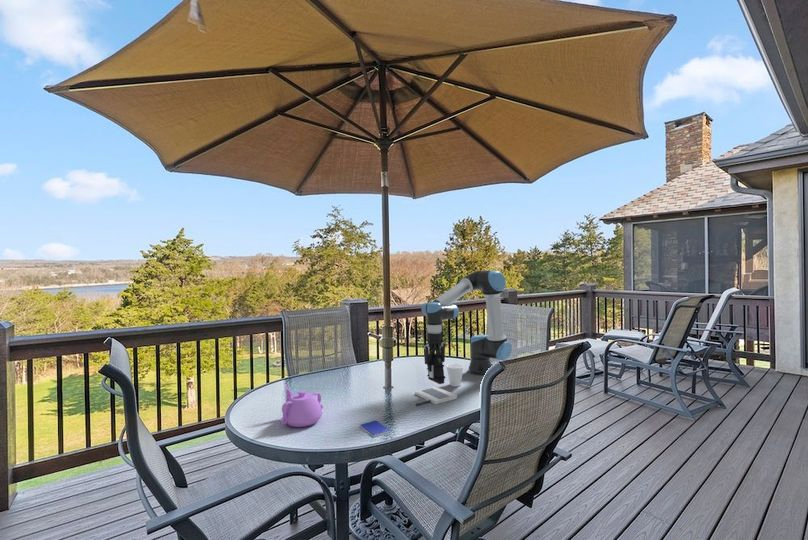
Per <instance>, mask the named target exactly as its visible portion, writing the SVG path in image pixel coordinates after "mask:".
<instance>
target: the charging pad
mask: <svg viewBox="0 0 808 540" xmlns="http://www.w3.org/2000/svg"><path fill="white" fill-rule="evenodd" d="M414 395H415V396H418V397H420V398H422V399H424V400H423V401H421V402H417V403H416V404H415V406H421V405H424V404H427V403H432V404H434V405H438V404H441V403H445V402H449V401H453V400H457V399H458V395H457V394H454V393H452V392H450V391H448V390H445V389H443V388H441V387H439V386H431V387H428V388H424V389H419V390H415V391H414Z"/></svg>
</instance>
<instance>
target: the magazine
mask: <svg viewBox="0 0 808 540" xmlns="http://www.w3.org/2000/svg"><path fill="white" fill-rule="evenodd" d="M441 357H442V355H440V353H436V352H435V353H434V355H433V362H432V365H433V373H434V378H431V377H429V371H428V365H427V364H426V366H427V367H426V370H427V373H428V374H427V377H428V380H430V381H431V382H434V383H437V384H439V385H443V384H445V380H446V376H445V371H444V367H445V364H444V362H443V363H442V358H441Z"/></svg>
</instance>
